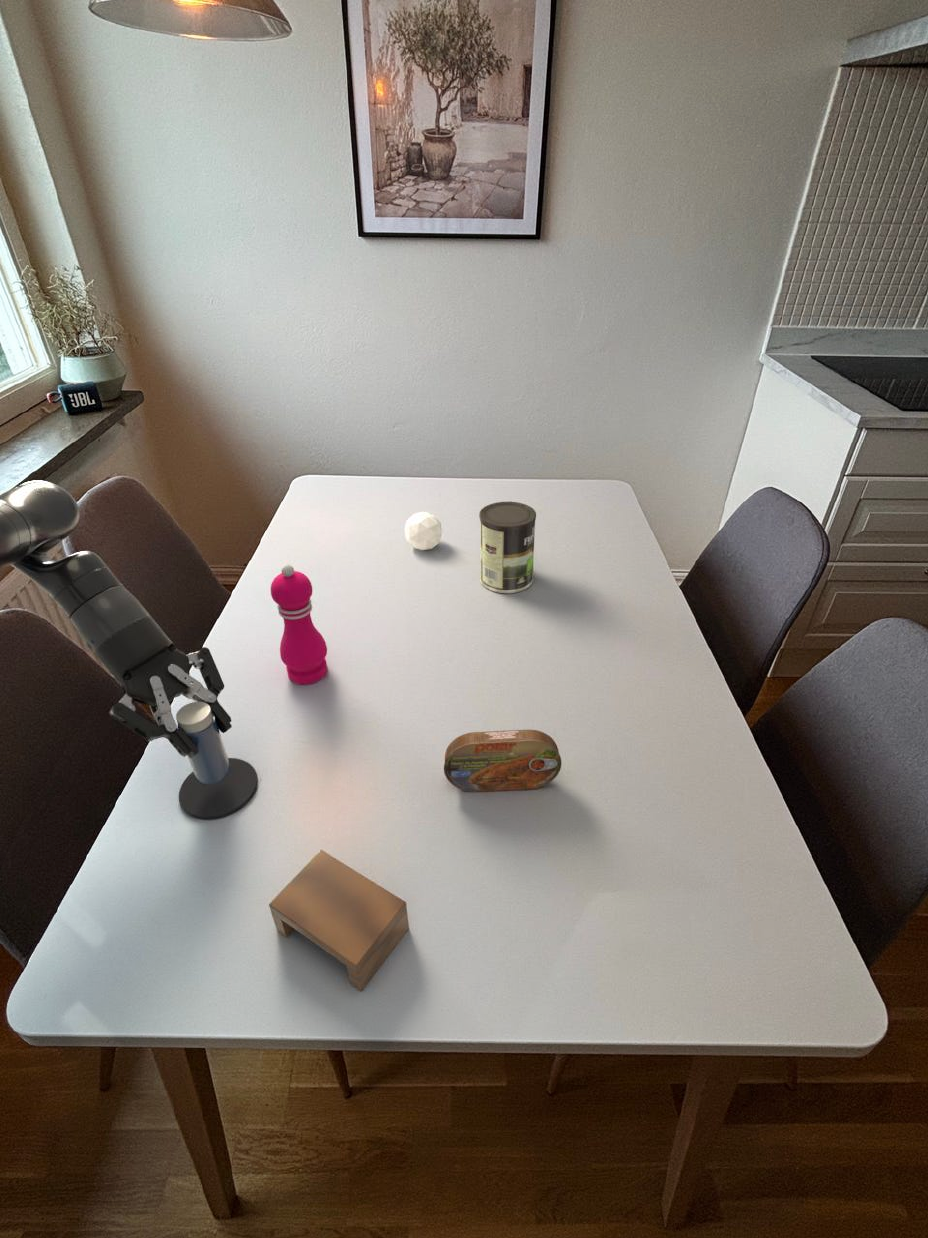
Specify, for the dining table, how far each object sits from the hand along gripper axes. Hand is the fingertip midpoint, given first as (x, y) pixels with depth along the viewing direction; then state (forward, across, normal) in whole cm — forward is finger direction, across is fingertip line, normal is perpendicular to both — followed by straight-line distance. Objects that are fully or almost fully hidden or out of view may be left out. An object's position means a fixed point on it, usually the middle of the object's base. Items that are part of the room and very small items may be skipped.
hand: (211, 741), depth 84 cm
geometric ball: (-5, +67, +19) cm, 70 cm away
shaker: (+3, 0, +6) cm, 7 cm away
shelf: (+25, -6, -11) cm, 28 cm away
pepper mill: (+1, +24, +13) cm, 27 cm away
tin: (+28, +21, -14) cm, 37 cm away
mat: (+6, 0, +8) cm, 10 cm away
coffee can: (+10, +65, +4) cm, 66 cm away
